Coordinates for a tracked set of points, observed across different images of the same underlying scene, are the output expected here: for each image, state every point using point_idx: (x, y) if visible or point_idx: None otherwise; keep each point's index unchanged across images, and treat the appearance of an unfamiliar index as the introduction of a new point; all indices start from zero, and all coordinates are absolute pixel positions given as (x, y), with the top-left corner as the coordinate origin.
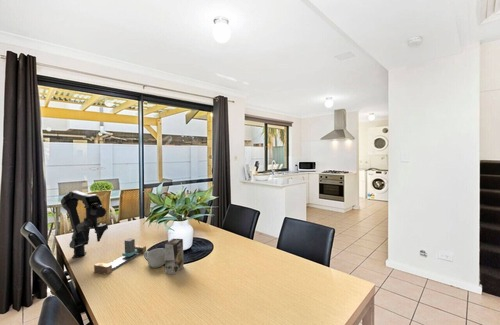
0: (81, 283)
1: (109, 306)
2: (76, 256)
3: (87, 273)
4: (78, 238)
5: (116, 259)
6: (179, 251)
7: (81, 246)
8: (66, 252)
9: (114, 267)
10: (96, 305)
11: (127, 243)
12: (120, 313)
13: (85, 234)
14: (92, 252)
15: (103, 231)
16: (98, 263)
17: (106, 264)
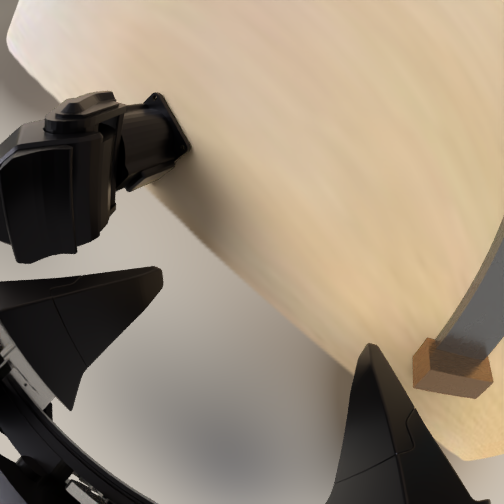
0: None
1: (479, 448)
2: (161, 176)
3: None
4: (70, 243)
5: (497, 251)
6: None
7: (122, 160)
8: None
9: (497, 342)
10: (457, 449)
11: None
12: (493, 451)
13: (103, 336)
14: (192, 75)
15: (436, 483)
16: (430, 375)
17: (471, 383)
